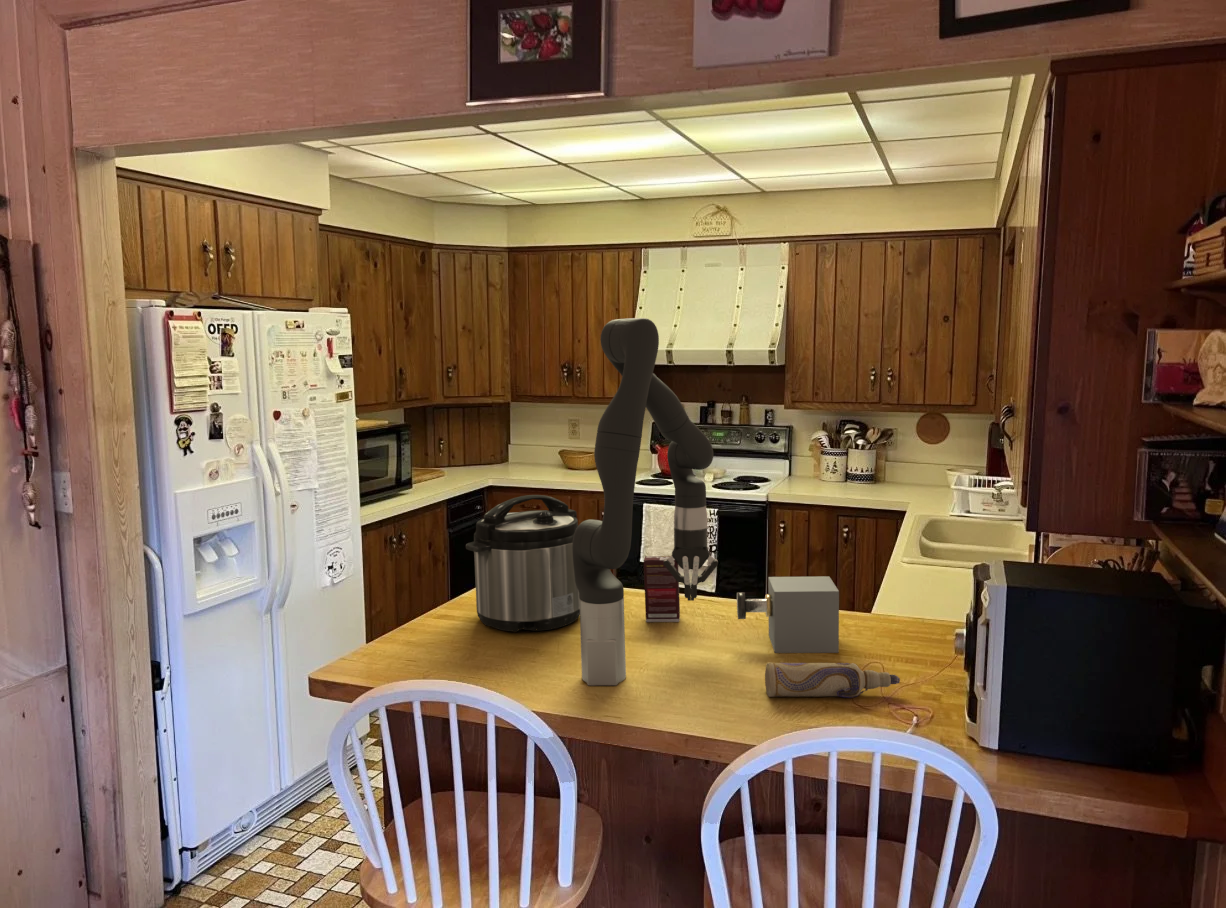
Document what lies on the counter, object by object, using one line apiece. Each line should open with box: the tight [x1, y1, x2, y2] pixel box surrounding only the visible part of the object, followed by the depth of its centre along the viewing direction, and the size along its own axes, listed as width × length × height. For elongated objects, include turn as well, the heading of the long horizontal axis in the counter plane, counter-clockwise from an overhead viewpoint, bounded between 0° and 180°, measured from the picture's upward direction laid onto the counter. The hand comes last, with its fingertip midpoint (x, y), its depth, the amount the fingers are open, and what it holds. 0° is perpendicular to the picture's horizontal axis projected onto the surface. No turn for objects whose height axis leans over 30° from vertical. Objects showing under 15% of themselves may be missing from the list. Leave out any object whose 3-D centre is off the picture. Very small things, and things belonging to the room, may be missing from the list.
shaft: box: [736, 592, 772, 620], centre depth 202 cm, size 6×21×6 cm, turn 86°
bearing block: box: [767, 575, 840, 654], centre depth 202 cm, size 12×14×14 cm
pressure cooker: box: [465, 494, 580, 632], centre depth 225 cm, size 30×28×32 cm
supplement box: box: [643, 555, 681, 623], centre depth 222 cm, size 9×5×16 cm, turn 84°
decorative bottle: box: [764, 662, 901, 699], centre depth 174 cm, size 26×8×7 cm, turn 87°
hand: (690, 599), depth 204 cm, fingers closed
